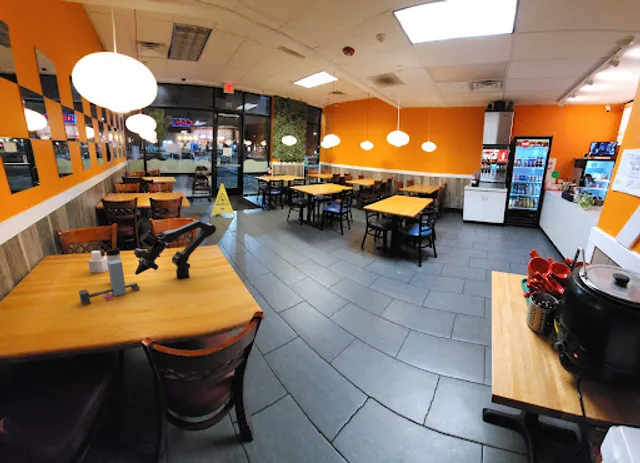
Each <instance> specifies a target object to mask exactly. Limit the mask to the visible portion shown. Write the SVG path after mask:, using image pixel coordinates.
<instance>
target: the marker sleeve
mask: <svg viewBox="0 0 640 463" xmlns="http://www.w3.org/2000/svg"><path fill="white" fill-rule="evenodd" d="M108 274H109V281H110V282H109V283H110V289H113V292H111V293H112V294H113V296H114V297H117V296H120V295H124V294H127V292H126V289H127V288H125V285H126V283H125V275H124V268H123V261H122V260H121V261H120V260H114V261H108Z"/></svg>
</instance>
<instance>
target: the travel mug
mask: <svg viewBox="0 0 640 463" xmlns="http://www.w3.org/2000/svg"><path fill="white" fill-rule="evenodd" d="M120 251H121V250H120V248H119V247H113V248H109V249H106V250H105V254H106V257H107V261H114V260H120V261H121V262H122V256H121V252H120Z"/></svg>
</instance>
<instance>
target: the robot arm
mask: <svg viewBox="0 0 640 463" xmlns="http://www.w3.org/2000/svg"><path fill="white" fill-rule="evenodd" d="M198 228H199V230H200V231H199V233H198V234H197V235H196V236H195V238H193V240H192V241H191V242H190V243H188V245H187V246H186V247H185V248H184V249H183V250H181V251H179V250H177V251H176V252H175V254H173V255H172V258H171V263H172V264H173V265H175V266H176V269H175V272H176V278H177V280H181V279H189V278H190V267H191V264H190V263H188V261H189V259H190V256H191V255H192V254H193V253H194V251H195V250H196V249H197V248H198V247H199V246H200V245H201V244H202V243H203V242H204V241H205V240H206V239H207V238H209V237H211V236H212V235H213V234H215V233H216V232H217V227H216V225H214V224H212V223H209V222H206V223H204V222H202V221H200V220H198V219H196V220H193V221H192V222H189V223H187V224H184V225H182V226H180V227H178V228H175V229H168V230H165V231H162V232H161V233H159V234H154V233H153V232H151V231H150V230H148V231H146V232H145V233H143V234H142V235H141V236H140V238H139V241H140V242H141V243H143V244H144V245H146V246H148V247H151V248H147V249H143V248H142V249H141V248H137V247H136V248H135V249H134V252H133V255H134V256H135V257H136V258H138V259H137V261H138V265H137V268H136V270H135V272H134V274H135V275H136V276H137V275H139V274H142V273H143V272H146V271H148V270H150V269H153V270H154V271H158V269H159V264H157V263H156V260H157V258H160V257H161V254H162V253H163V251H165V249H168V250H170V249H171V247H170V245H171V244H172V243H173V242H174V241H177V240H178V239H179V238H180V237H181V236H183V235H185V234H188V233H190V232H191V231H194V230H196V229H198Z"/></svg>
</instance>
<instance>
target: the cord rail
mask: <svg viewBox="0 0 640 463" xmlns="http://www.w3.org/2000/svg"><path fill="white" fill-rule="evenodd" d="M129 288H130V290H131V291H132V292H136V291H140V286H139V284H138V282H133V283H129V284H125V289H129ZM112 292H113V289H111V288H109V289H106V290H101V291H97V292H94V293H89V290H88V289H81V290H78V295H79V299H80V303H81V305H82V306H83V307H84V306H87V305H90V304H91V303H92V302H91V298H94V297H95V298H96V297H99V296H102V297H103V298H104V299H105V301H106V302H109V301H110V302H111V301H113V300H115V298H114V297H113V296H112V295H111V294H110V293H112Z"/></svg>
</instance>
